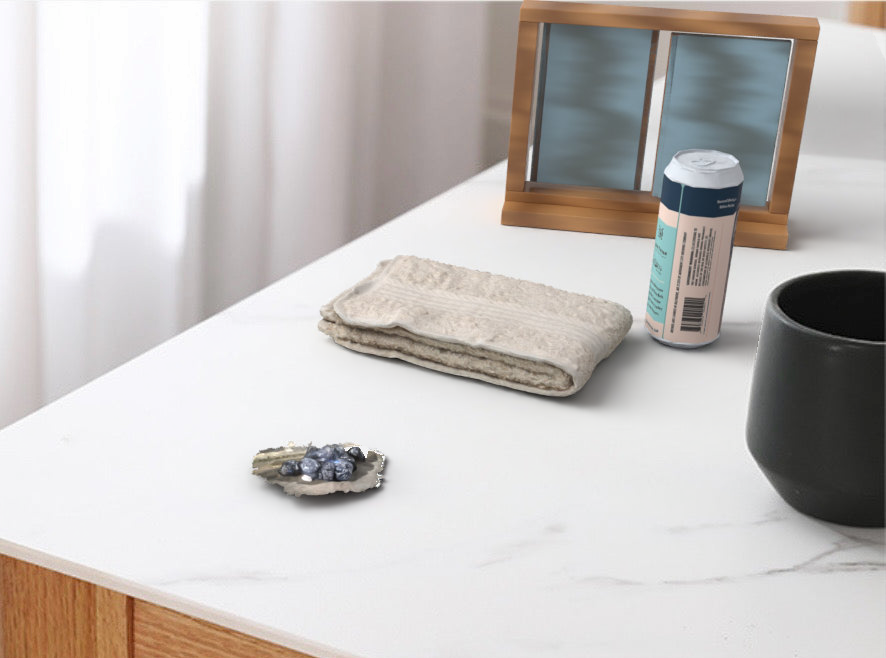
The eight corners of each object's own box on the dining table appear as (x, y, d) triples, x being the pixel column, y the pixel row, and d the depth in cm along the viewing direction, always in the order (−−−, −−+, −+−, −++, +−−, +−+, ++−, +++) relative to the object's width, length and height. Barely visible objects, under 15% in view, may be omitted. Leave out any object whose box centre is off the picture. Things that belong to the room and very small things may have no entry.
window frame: (781, 217, 121) (815, 10, 114) (786, 250, 115) (822, 33, 108) (509, 194, 125) (526, -8, 118) (500, 224, 119) (517, 14, 112)
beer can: (733, 337, 102) (761, 160, 96) (691, 359, 99) (718, 177, 93) (670, 315, 105) (694, 141, 99) (628, 335, 102) (650, 157, 96)
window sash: (641, 169, 124) (661, 13, 118) (640, 191, 120) (660, 29, 114) (535, 161, 126) (549, 6, 120) (529, 181, 121) (543, 21, 116)
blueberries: (226, 472, 85) (226, 441, 84) (333, 427, 90) (334, 398, 89) (310, 521, 81) (311, 490, 80) (418, 471, 85) (420, 441, 85)
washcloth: (386, 282, 109) (388, 240, 108) (637, 336, 102) (643, 292, 100) (307, 345, 100) (308, 300, 98) (577, 409, 92) (582, 362, 91)
